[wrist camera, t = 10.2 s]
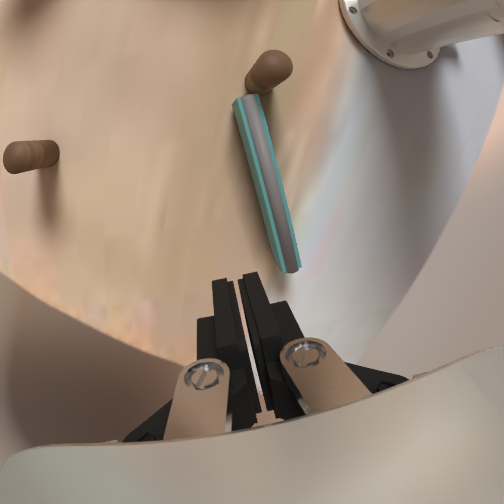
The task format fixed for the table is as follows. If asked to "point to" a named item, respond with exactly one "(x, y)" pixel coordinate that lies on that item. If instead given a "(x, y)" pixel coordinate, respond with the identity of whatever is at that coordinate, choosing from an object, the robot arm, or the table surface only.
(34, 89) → the table surface
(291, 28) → the table surface
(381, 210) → the table surface
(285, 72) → the gate posts
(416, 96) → the table surface
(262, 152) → the bar
